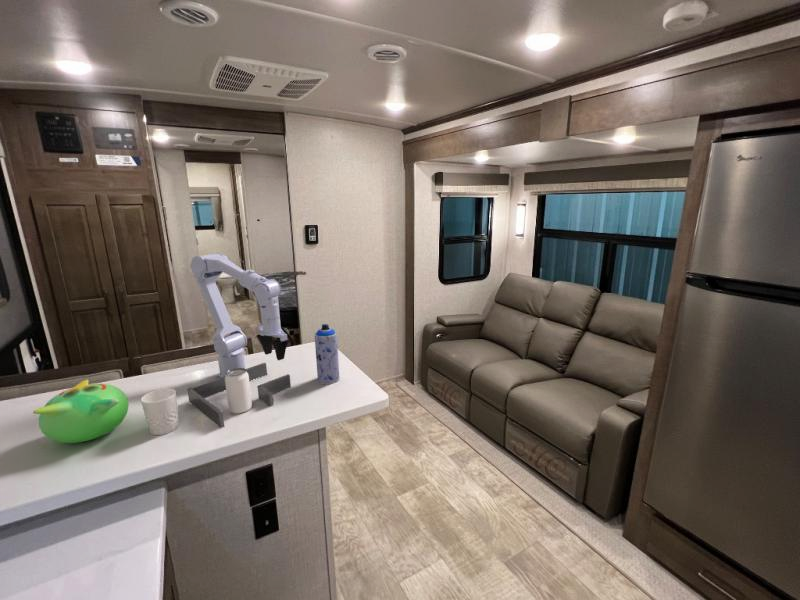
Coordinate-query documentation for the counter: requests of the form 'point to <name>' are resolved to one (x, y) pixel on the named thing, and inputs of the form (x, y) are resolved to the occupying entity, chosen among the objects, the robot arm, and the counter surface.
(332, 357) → the aerosol can
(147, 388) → the counter surface
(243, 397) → the can
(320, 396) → the counter surface
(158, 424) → the white cup
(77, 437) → the toy bird
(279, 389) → the rail channel
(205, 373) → the counter surface
